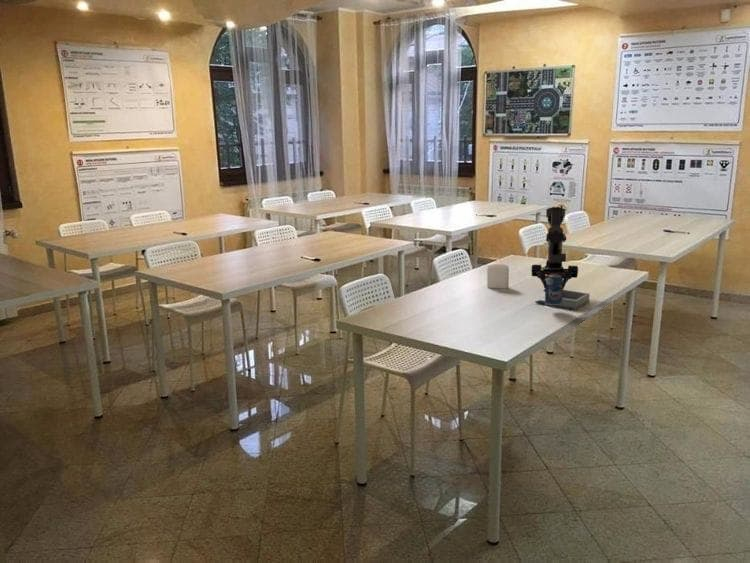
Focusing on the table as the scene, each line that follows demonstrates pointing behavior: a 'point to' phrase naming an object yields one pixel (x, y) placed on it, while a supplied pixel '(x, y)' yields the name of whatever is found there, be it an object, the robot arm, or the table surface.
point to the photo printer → (498, 275)
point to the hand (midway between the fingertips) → (554, 288)
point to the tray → (572, 300)
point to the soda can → (554, 289)
